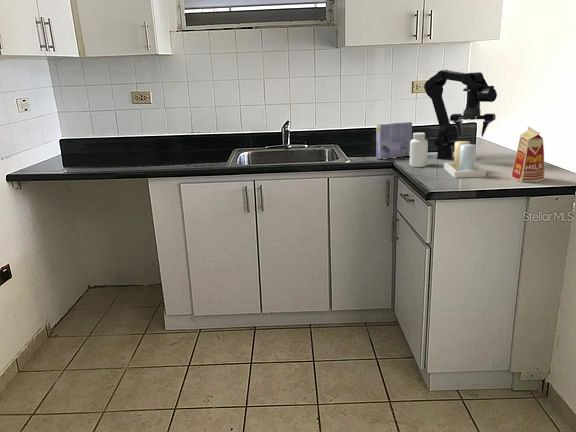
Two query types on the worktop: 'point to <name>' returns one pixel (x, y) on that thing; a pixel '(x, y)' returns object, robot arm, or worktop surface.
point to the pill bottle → (418, 150)
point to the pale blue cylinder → (467, 157)
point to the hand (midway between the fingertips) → (471, 136)
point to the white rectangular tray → (462, 174)
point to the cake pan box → (393, 140)
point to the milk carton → (529, 158)
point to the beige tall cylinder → (458, 153)
